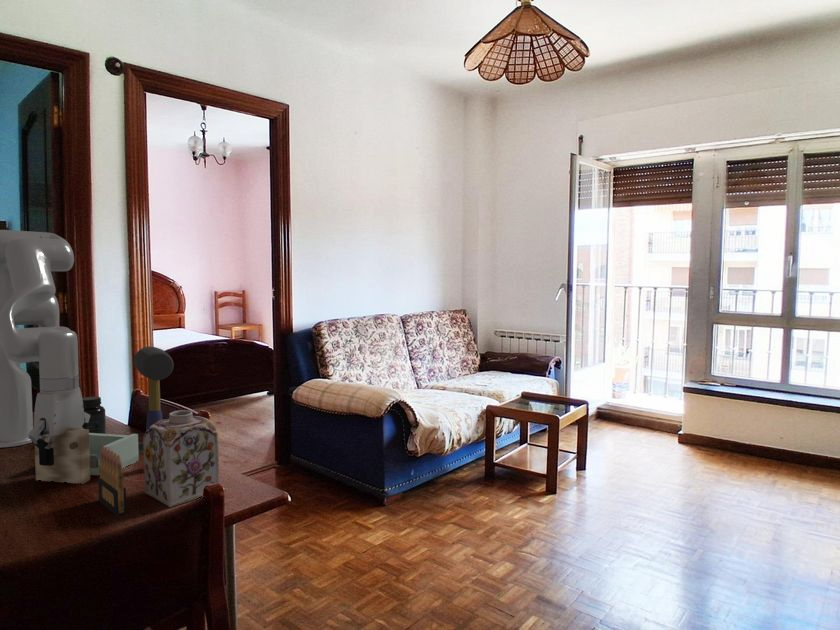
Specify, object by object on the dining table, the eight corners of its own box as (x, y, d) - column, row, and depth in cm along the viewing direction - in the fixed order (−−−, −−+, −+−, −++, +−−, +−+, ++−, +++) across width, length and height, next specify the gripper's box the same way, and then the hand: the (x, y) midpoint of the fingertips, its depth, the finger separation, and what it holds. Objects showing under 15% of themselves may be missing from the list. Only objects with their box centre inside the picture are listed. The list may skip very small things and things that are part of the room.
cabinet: (44, 471, 134) (43, 443, 133) (79, 456, 145) (78, 430, 144) (108, 476, 131) (107, 447, 131) (138, 460, 142) (138, 434, 142)
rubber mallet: (178, 472, 134) (175, 349, 132) (144, 478, 130) (141, 351, 128) (166, 458, 144) (163, 343, 142) (134, 463, 140) (131, 345, 138)
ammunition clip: (98, 500, 118) (96, 445, 117) (108, 497, 119) (106, 443, 118) (116, 515, 110) (115, 457, 109) (126, 513, 112) (125, 454, 111)
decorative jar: (194, 479, 130) (192, 403, 129) (221, 491, 123) (220, 412, 122) (142, 494, 121) (140, 413, 120) (168, 509, 114) (166, 423, 112)
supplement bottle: (83, 436, 162) (82, 396, 161) (109, 435, 164) (108, 395, 163) (74, 443, 155) (73, 401, 154) (101, 442, 157) (100, 400, 156)
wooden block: (32, 481, 127) (30, 430, 126) (44, 476, 131) (42, 426, 130) (79, 485, 126) (77, 433, 125) (90, 480, 129) (88, 429, 128)
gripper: (74, 376, 136) (76, 446, 137) (12, 391, 119) (15, 470, 120) (101, 377, 135) (103, 448, 136) (43, 392, 118) (46, 472, 119)
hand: (62, 458), depth 128 cm, fingers open, 8 cm apart
